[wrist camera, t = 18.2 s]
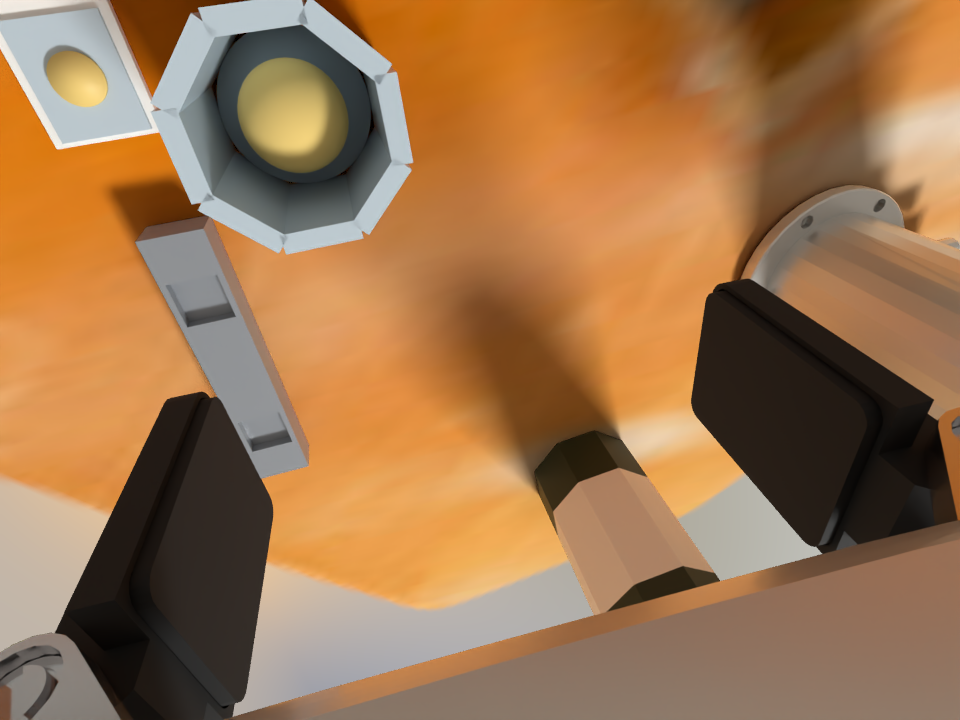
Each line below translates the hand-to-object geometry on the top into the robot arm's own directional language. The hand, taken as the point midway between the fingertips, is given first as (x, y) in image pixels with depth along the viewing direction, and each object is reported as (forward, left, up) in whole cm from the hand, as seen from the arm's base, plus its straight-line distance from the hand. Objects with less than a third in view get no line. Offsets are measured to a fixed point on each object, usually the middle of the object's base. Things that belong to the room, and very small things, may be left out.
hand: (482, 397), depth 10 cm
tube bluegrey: (+3, -3, -20) cm, 21 cm away
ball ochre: (+3, -3, -20) cm, 20 cm away
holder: (+10, +9, -20) cm, 24 cm away
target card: (+11, -8, -20) cm, 24 cm away
